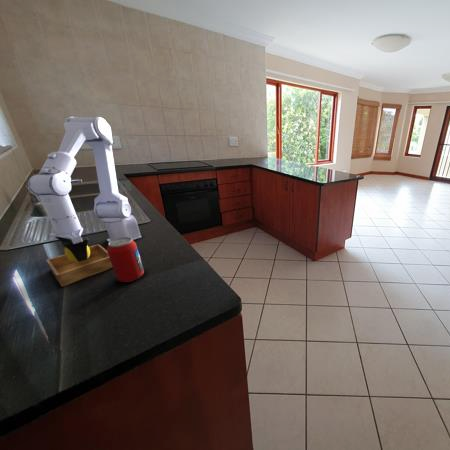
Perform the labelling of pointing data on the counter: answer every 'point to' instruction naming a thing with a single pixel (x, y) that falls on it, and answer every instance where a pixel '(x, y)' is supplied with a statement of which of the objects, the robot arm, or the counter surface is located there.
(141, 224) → the counter surface
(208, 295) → the counter surface
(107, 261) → the wooden tray
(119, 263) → the beverage can
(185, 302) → the counter surface
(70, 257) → the lemon
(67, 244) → the robot arm
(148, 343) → the counter surface
